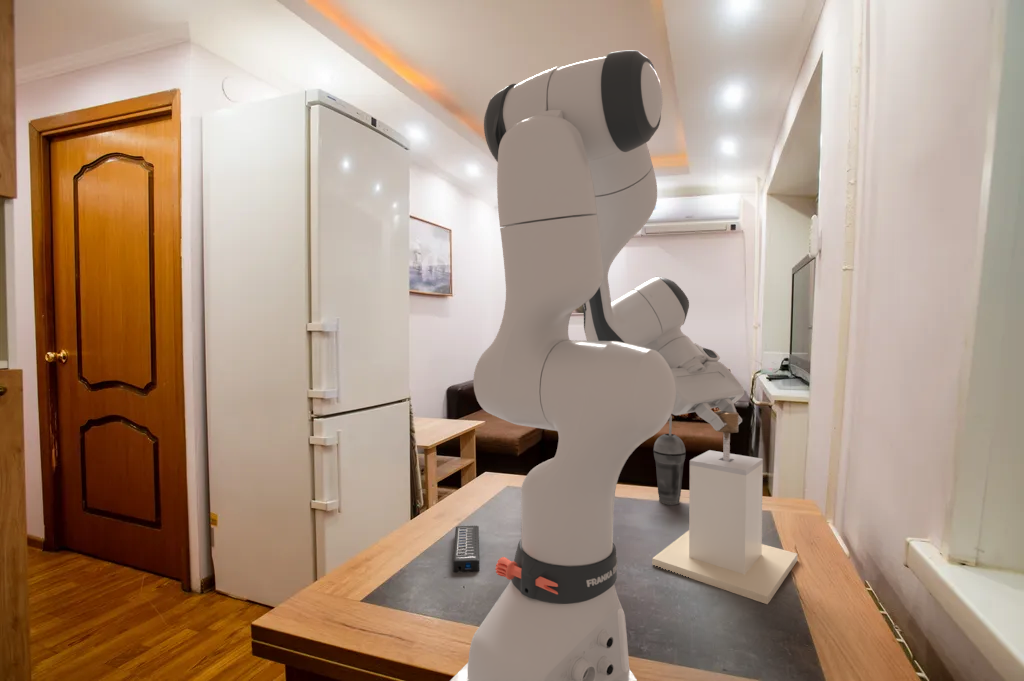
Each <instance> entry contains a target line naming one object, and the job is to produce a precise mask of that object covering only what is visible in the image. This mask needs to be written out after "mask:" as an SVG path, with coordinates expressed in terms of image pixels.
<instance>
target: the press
mask: <svg viewBox="0 0 1024 681" xmlns="http://www.w3.org/2000/svg"><path fill="white" fill-rule="evenodd" d="M763 460H764V459H763V458H760V457H753V456H748V455H742V454H735V453H730V462H728V461H723V452H722V451H716V450H711V449H709V450H707V451H705V452H703V453H701V454H699V455H697V456H694V457H693V458H691V459H690V460H689V491H688V492H689V493H688V494H689V497H688V498H689V501H688V502H689V504H688V508H689V510H688V511H689V516H688V517H689V521H688V522H689V523H688V524H689V528H688V530H687V531H685V532H684V533H683V534H682V535H680V536H678V538H676V539H675V540H674V541H673V542H671V543H670V544H668V545H667V546H666V547H665V548H664V549H662V550H661V551H660V552H659V553H657V554H656V555H655V556H653V557H652V558H651V559H652V560H651V561H652V562H651V563H652V564H651V565H652V566H653V565H655V566H654V567H656V566H658V567H657V568H659V567H661V568H660V569H662V568H663V570H665V569H666V570H665V571H668V570H670V571H669V572H671V571H672V573H674V572H675V573H674V574H677V573H678V574H677V575H680V574H681V575H680V576H682V575H683V576H682V577H685V576H686V578H688V577H689V579H691V580H693V581H698V582H701V583H703V584H706V585H709V586H712V587H715V588H718V589H721V590H723V591H727V592H730V593H733V594H736V595H738V596H741V597H744V598H747V599H750V600H754V601H756V602H759V603H762V604H765V605H769V603H770V602H771V600H772V599H773V598H774V596H775V595H776V593H777V591H778V590H779V588H780V587H781V586H782V584H783V582H785V580H786V579H787V577H788V575H789V574H790V572H791V571H792V569H793V568H794V566H795V565H796V563H797V562H798V555H799V554H798V553H797V552H792V551H789V550H786V549H782V548H778V547H774V546H770V545H767V544H763V543H762V542H763V541H762V540H763V480H764V479H763V478H764V477H763V476H764V475H763V474H764V472H763V468H764V466H763V465H764V464H763Z"/></svg>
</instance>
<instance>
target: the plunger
mask: <svg viewBox="0 0 1024 681" xmlns="http://www.w3.org/2000/svg"><path fill="white" fill-rule="evenodd" d="M736 412H737V411H736ZM736 412H730V411H721V410H718V411H715V412H714V413H716V414H717V415H718V416H722V417H723V419H724V420H725V421H726V422H727V426H726V427H724V428H723V429H722V430H718V431H717V432H719V433H723V439H722V441H723V442H722V443H723V445H722V446H723V447H722V448H723V449H722V450H723V461H728V462H730V454H731V451H730V450H731V445H730V443H731V434H734V433H739V425H738V415H739V413H738V412H737V413H736Z"/></svg>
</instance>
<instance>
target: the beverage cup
mask: <svg viewBox="0 0 1024 681" xmlns="http://www.w3.org/2000/svg"><path fill="white" fill-rule="evenodd" d="M672 420H673V415H671V416H670V418H669V419H668V422H669V423H668V424H669V426H668V433H664V434H662V435H660V436H659V437H657V438H656V440H655V442H654V445H653V450H652V452H653V457H654V460H655V467H656V468H655V469H656V471H655V472H656V481H657V494H658V501H659V502H660V503H661V502H662V504H664V505H671V506H672V505H673V506H674V505H679V504H680V503H681V502H680V501H681V494H682V493H681V492H682V484H683V474H684V464H685V459H686V455H687V452H686V447H685V444H684V442H683V440H682V439H681V438H680V437H679V436H678V435H676V434H673V433H672V426H673V425H672V424H673V421H672Z"/></svg>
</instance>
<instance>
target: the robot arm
mask: <svg viewBox="0 0 1024 681" xmlns="http://www.w3.org/2000/svg"><path fill="white" fill-rule="evenodd" d="M662 109H663V91H662V85H661V80H660V78H659V76H658V74H657V72H656V69H655V67H654V64H653V62H652V60H650V58H649V57H647V56H646V55H644V54H643V53H642V52H640V51H639V50H632V49H631V50H630V49H629V50H618V51H612V52H609V53H608V54H606V56H603V57H598V58H591V59H588V60H583V61H579V62H575V63H571V64H568V65H565V66H555V67H553V68H551V69H547V70H545V71H542V72H540V73H538V74H535V75H534V76H531V77H529V78H527V79H525V80H523V81H521V82H519V83H511V84H509V85H508V86H505V87H504V88H502V89H501V90H499V91H498V92H497V93H496V94H494V95H493V96H492V97H491V98H490V99H489V102H488V105H487V107H486V110H485V113H484V118H483V131H484V138H485V141H486V145H487V147H488V149H489V152H490V154H491V155H492V157H493V158H494V160H495V161H496V162H497V168H496V169H497V170H496V171H497V174H496V177H497V178H496V186H497V188H496V190H497V192H496V193H497V194H496V196H497V209H498V210H497V211H498V219H499V232H500V239H501V240H500V241H501V247H502V256H503V267H504V280H505V303H504V310H503V314H502V315H503V316H502V320H501V323H500V326H499V329H498V332H497V335H496V336H495V338H494V340H493V342H492V343H491V344H490V345H489V346H488V347H487V348H486V349H485V350H484V351H483V353H482V354H481V355H480V357H479V358H478V361H477V363H476V366H475V369H474V372H473V392H474V395H475V398H476V401H477V402H478V404H479V406H480V407H481V409H483V411H484V412H486V413H488V415H489V414H490V415H492V416H493V417H496V418H499V419H500V420H503V421H506V422H508V423H510V424H514V425H516V426H523V427H530V428H535V429H542V430H549V431H555V432H557V434H558V442H557V449H556V452H555V455H554V457H552V458H550V459H547V460H545V461H542V462H541V463H539V464H538V465H536V466H534V467H533V468H532V469H530V471H529V472H528V473H527V474H526V476H525V478H524V480H523V482H522V484H521V488H520V524H521V525H520V527H521V528H520V532H521V533H520V535H521V536H520V537H521V539H519V541H518V544H517V548H516V550H515V554H514V559H513V561H511V560H510V559H509V558H507V557H505V556H502V557H500V558H498V560H497V562H496V564H495V573H496V574H497V575H498V576H500V577H503V578H504V577H505V578H506V580H510V581H509V583H508V585H506V588H505V589H504V590H503V591H502V593H501V594H500V596H499V597H498V599H497V600H496V602H495V603H494V605H492V608H491V609H490V610H489V612H488V614H487V615H486V616H485V618H484V620H483V621H482V622H481V624H480V625H479V626H478V628H477V629H476V631H475V632H474V634H473V636H472V637H471V638H472V639H471V643H470V646H469V647H470V648H469V652H468V662H466V664H465V665H463V667H461V669H459V670H458V672H457V673H456V674H455V675H454V676H453V677H452V678H451V679H450V680H449V681H638V680H637V677H636V676H635V674H634V673H633V672H632V670H631V669H630V660H629V659H630V658H629V649H628V648H629V647H628V637H627V636H628V635H627V633H628V632H627V624H626V614H625V612H624V608H623V607H622V603H621V602H620V599H619V596H618V594H617V590H616V586H615V583H616V581H617V578H618V577H617V575H618V574H617V573H618V570H617V569H618V567H619V566H618V562H619V561H618V556H617V547H616V545H615V544H614V542H613V540H614V539H613V538H614V514H615V513H614V512H615V511H614V509H615V507H614V506H615V501H616V500H615V498H616V496H615V495H616V488H617V484H618V481H619V477H620V474H621V472H622V470H623V468H624V466H625V464H626V462H627V460H628V459H629V457H630V456H631V455H632V454H633V452H635V450H636V449H637V448H638V447H639V446H640V445H641V444H643V443H644V442H646V441H647V440H649V439H650V438H652V437H653V436H655V435H656V434H658V432H660V431H661V430H662V429H663V428H664V426H665V425H666V424H667V422H669V419H670V416H680V415H686V414H690V413H696V415H697V417H699V418H701V419H702V420H704V421H705V422H707V423H708V424H710V425H711V427H712V428H713V430H715V432H718V430H722V429H723V428H724V427H726V426H727V422H726V421H725V420H724V419H723V417H722V416H718V415H717V414H716V413H715V412H714V411H713V410H712V409H716V408H718V409H719V411H730V412H736V413H738V412H737V409H736V406H735V403H737V401H739V400H740V399H741V398H742V397H743V396H744V395H745V390H744V387H743V384H741V383H740V381H739V380H738V379H737V378H736V376H735V375H734V374H733V373H732V372H731V370H730V369H729V368H728V367H727V366H726V365H725V364H724V363H723V362H721V361H719V360H720V358H721V357H720V355H719V354H718V353H717V352H716V351H715V350H714V349H713V350H712V349H709V348H705V347H704V346H701V345H699V344H697V343H694V342H693V341H692V339H691V338H690V337H689V336H688V335H686V334H685V333H684V332H682V329H681V328H682V326H684V324H685V322H686V319H687V316H688V313H689V308H690V300H689V298H688V296H687V295H686V293H685V292H684V290H683V289H682V288H681V287H680V286H679V285H678V284H677V283H676V282H675V281H673V280H671V279H669V278H666V277H661V276H655V277H652V278H650V279H648V280H647V281H645V282H643V283H641V284H640V285H637V286H635V287H634V288H633V289H631V290H630V291H628V292H626V293H624V294H622V295H621V296H620V297H618V298H616V299H615V300H613V301H612V298H611V291H610V284H609V270H610V268H611V265H612V264H613V262H614V260H615V259H616V258H617V256H618V255H619V254H620V253H621V251H622V250H623V249H624V247H625V246H626V245H627V244H628V243H629V242H630V241H631V240H632V238H634V236H635V235H637V233H639V232H640V231H641V230H642V229H643V228H644V226H645V225H646V224H647V222H648V221H649V220H650V218H651V217H652V215H653V212H654V210H655V208H656V205H657V201H658V200H657V199H658V185H657V184H658V182H657V178H656V172H655V169H654V165H653V161H652V158H651V157H652V156H651V154H650V149H649V146H648V144H647V143H648V142H649V141H651V139H652V137H653V136H654V134H655V133H656V132H657V130H659V126H660V124H661V118H662ZM580 307H582V313H583V330H584V334H585V339H586V340H577V339H576V340H575V339H573V340H572V339H570V337H569V324H570V320H571V317H572V314H573V312H574V311H576V310H577V309H579V308H580ZM741 423H743V418H742V417H741V416H740V415H739V414H738V426H739V425H740V424H741Z"/></svg>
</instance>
